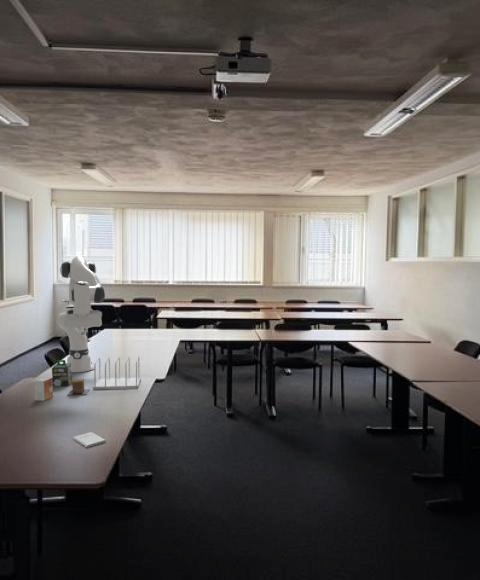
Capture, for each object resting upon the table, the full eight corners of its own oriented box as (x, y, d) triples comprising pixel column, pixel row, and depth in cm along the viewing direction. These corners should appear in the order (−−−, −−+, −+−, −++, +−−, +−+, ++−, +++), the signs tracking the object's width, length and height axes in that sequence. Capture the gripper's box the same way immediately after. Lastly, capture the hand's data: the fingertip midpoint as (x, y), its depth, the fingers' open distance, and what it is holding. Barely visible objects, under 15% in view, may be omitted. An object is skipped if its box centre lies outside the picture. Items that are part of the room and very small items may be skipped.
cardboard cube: (74, 390, 262) (74, 379, 261) (84, 390, 262) (83, 378, 262) (72, 393, 257) (72, 381, 256) (82, 392, 257) (82, 381, 257)
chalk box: (72, 382, 282) (71, 357, 281) (68, 386, 273) (68, 361, 272) (56, 382, 281) (55, 358, 280) (52, 386, 272) (51, 361, 270)
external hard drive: (86, 449, 186) (73, 440, 195) (105, 443, 191) (92, 435, 200) (86, 445, 186) (73, 436, 195) (105, 439, 191) (91, 431, 200)
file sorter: (92, 390, 265) (92, 362, 264) (98, 381, 283) (97, 356, 281) (138, 388, 268) (137, 361, 267) (140, 380, 286) (140, 355, 284)
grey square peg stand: (71, 390, 264) (70, 379, 263) (89, 389, 265) (89, 378, 265) (67, 395, 254) (66, 383, 254) (86, 395, 255) (85, 383, 255)
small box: (44, 401, 245) (43, 381, 244) (34, 400, 246) (34, 380, 245) (53, 396, 253) (52, 377, 252) (44, 396, 254) (43, 376, 253)
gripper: (102, 309, 268) (103, 333, 269) (65, 310, 265) (65, 334, 266) (100, 310, 262) (101, 335, 263) (62, 311, 259) (63, 336, 260)
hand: (83, 334), depth 264 cm, fingers closed
